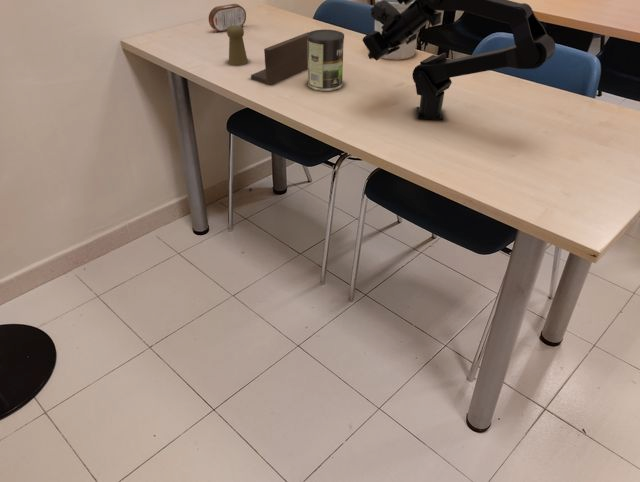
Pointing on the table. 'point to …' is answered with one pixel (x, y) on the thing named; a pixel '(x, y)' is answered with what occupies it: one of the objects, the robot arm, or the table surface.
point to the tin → (227, 17)
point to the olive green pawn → (236, 46)
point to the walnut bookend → (284, 60)
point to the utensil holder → (409, 49)
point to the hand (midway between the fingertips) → (369, 57)
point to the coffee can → (325, 59)
